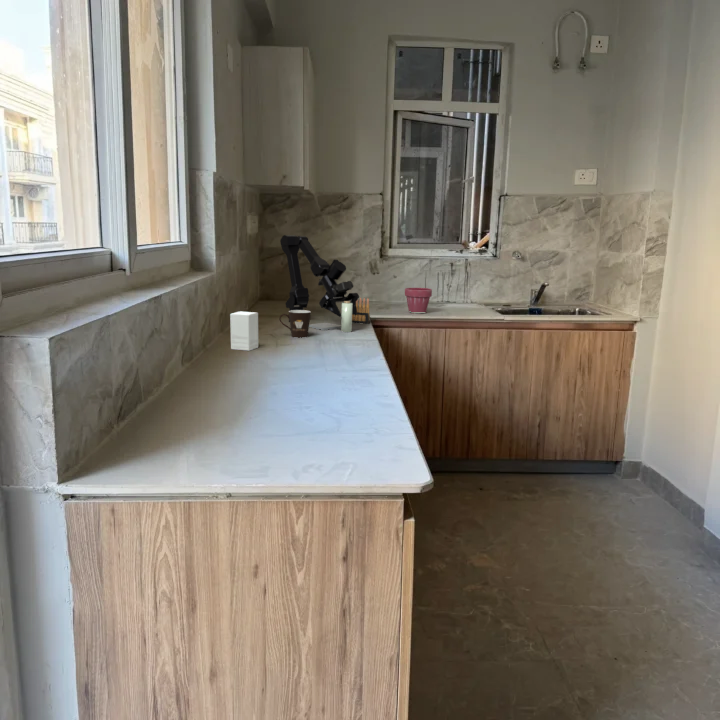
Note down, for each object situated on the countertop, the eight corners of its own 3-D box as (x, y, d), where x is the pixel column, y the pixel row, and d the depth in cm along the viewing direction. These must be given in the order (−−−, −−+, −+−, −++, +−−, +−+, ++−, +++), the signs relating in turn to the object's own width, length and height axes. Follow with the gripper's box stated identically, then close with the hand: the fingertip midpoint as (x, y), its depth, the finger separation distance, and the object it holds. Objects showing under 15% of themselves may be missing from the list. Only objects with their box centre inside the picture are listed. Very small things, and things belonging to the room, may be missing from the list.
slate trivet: (306, 326, 268) (306, 324, 267) (325, 324, 275) (325, 322, 275) (323, 330, 260) (323, 328, 260) (342, 328, 268) (342, 325, 267)
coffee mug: (314, 336, 246) (314, 311, 244) (303, 339, 238) (303, 313, 236) (289, 333, 250) (289, 308, 248) (277, 336, 243) (278, 311, 241)
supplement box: (259, 347, 219) (259, 312, 216) (248, 351, 212) (248, 314, 209) (240, 345, 221) (240, 310, 218) (229, 349, 214) (229, 313, 211)
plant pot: (399, 312, 325) (400, 288, 322) (411, 310, 337) (412, 286, 334) (423, 315, 318) (424, 290, 315) (435, 312, 329) (436, 288, 327)
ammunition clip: (369, 323, 284) (370, 297, 281) (368, 324, 282) (369, 298, 280) (347, 322, 286) (347, 296, 284) (346, 322, 284) (346, 296, 282)
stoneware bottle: (341, 332, 257) (341, 301, 255) (341, 330, 262) (341, 300, 259) (351, 332, 257) (352, 302, 255) (351, 330, 262) (352, 300, 259)
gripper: (324, 275, 251) (341, 304, 246) (357, 273, 264) (374, 302, 259) (311, 292, 258) (328, 321, 253) (344, 290, 271) (360, 318, 266)
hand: (348, 315), depth 257 cm, fingers open, 9 cm apart
